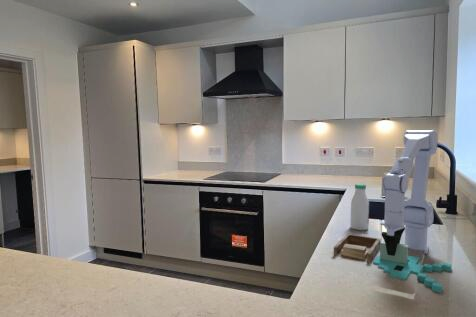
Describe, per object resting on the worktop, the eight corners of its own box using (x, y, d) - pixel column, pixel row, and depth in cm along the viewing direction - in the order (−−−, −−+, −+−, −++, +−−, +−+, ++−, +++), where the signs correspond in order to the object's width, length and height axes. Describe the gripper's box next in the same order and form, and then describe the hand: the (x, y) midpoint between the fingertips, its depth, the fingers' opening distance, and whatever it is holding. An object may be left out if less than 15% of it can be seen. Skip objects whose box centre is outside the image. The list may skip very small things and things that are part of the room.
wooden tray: (347, 243, 130) (347, 233, 130) (380, 249, 124) (380, 238, 124) (333, 258, 115) (333, 247, 115) (370, 265, 109) (370, 253, 109)
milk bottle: (366, 231, 146) (367, 186, 144) (348, 229, 150) (349, 184, 148) (369, 227, 152) (371, 183, 151) (352, 224, 156) (353, 182, 155)
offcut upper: (345, 247, 118) (345, 243, 118) (365, 251, 115) (366, 246, 115) (342, 251, 115) (343, 246, 115) (364, 254, 112) (364, 250, 112)
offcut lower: (344, 251, 119) (344, 247, 119) (367, 255, 115) (367, 251, 115) (341, 254, 116) (341, 250, 116) (365, 259, 112) (365, 255, 111)
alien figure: (451, 271, 106) (384, 256, 119) (451, 264, 106) (385, 250, 118) (440, 295, 91) (366, 275, 103) (441, 287, 90) (366, 268, 103)
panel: (380, 257, 112) (381, 241, 112) (407, 261, 108) (408, 245, 108) (379, 258, 111) (380, 242, 110) (406, 263, 106) (407, 247, 106)
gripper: (384, 205, 117) (383, 243, 118) (376, 213, 104) (375, 255, 106) (407, 207, 113) (405, 246, 114) (401, 216, 101) (400, 260, 102)
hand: (392, 251), depth 109 cm, fingers open, 7 cm apart
